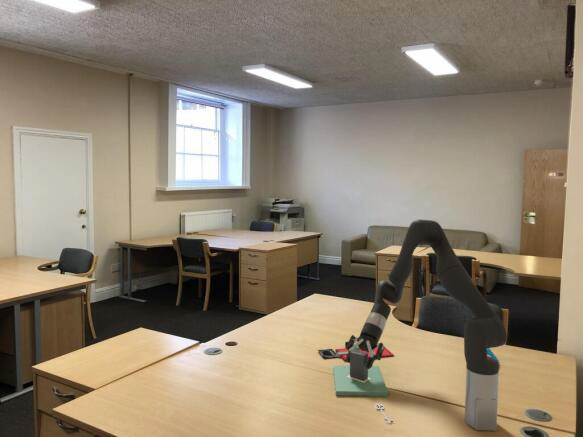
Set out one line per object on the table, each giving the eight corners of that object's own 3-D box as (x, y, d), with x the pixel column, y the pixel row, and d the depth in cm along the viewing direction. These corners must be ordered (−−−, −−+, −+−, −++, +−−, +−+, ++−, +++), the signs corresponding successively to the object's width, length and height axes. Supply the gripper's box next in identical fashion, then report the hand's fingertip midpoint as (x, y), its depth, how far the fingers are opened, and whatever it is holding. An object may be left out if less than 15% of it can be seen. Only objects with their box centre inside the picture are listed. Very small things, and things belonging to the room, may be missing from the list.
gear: (500, 362, 182) (481, 342, 185) (488, 371, 184) (470, 351, 187) (498, 356, 192) (481, 337, 195) (487, 364, 194) (470, 345, 197)
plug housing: (354, 373, 172) (354, 349, 171) (367, 378, 168) (368, 353, 167) (349, 376, 170) (350, 351, 169) (363, 381, 166) (363, 356, 165)
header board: (387, 396, 158) (387, 383, 157) (335, 395, 159) (335, 382, 158) (378, 369, 180) (378, 358, 179) (333, 368, 180) (333, 358, 180)
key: (382, 405, 152) (373, 406, 151) (382, 402, 152) (373, 403, 151) (395, 425, 140) (385, 425, 140) (395, 422, 140) (385, 422, 140)
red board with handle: (316, 350, 200) (327, 364, 186) (316, 344, 200) (327, 357, 186) (378, 345, 208) (393, 358, 193) (378, 339, 207) (394, 351, 193)
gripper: (354, 318, 178) (337, 355, 170) (386, 326, 168) (370, 365, 161) (361, 328, 182) (345, 364, 175) (393, 336, 173) (377, 374, 165)
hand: (357, 364), depth 168 cm, fingers open, 8 cm apart
